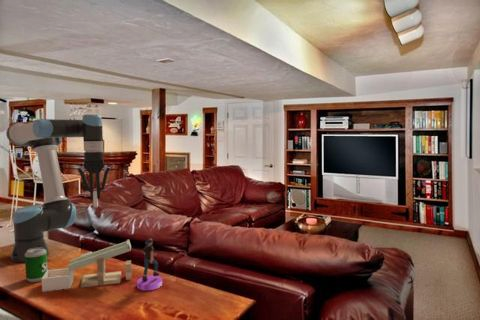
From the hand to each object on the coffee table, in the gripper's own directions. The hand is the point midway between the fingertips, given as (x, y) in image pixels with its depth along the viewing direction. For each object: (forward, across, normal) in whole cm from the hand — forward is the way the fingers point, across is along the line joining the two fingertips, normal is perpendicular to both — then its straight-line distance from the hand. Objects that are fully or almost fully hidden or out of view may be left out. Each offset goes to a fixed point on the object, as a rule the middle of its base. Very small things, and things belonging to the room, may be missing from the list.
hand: (95, 206), depth 152 cm
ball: (+24, -13, -16) cm, 32 cm away
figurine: (+27, +21, -25) cm, 42 cm away
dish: (+26, -12, -16) cm, 33 cm away
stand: (+26, +5, -16) cm, 31 cm away
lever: (+17, +3, -12) cm, 21 cm away
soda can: (+27, -22, -7) cm, 35 cm away
